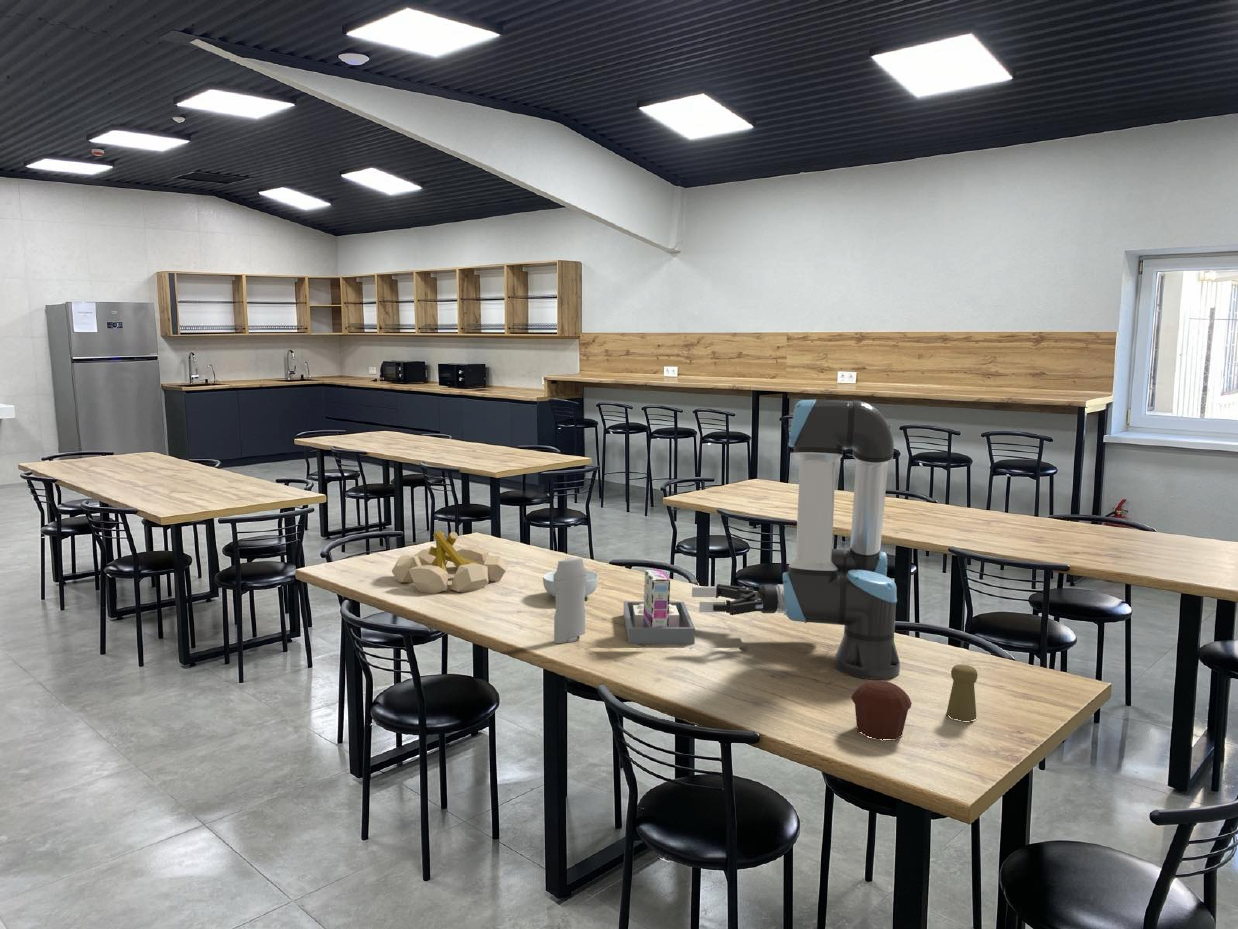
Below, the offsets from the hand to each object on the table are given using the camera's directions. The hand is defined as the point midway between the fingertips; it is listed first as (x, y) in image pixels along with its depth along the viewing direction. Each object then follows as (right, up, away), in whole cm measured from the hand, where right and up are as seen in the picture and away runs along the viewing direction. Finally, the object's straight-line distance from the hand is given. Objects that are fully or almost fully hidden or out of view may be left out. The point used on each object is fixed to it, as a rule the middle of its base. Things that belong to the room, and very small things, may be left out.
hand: (695, 599), depth 232 cm
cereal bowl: (-35, -6, +38) cm, 52 cm away
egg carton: (-10, -8, +12) cm, 18 cm away
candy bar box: (-10, -10, +2) cm, 14 cm away
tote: (-10, -10, +7) cm, 16 cm away
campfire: (-75, -3, +57) cm, 94 cm away
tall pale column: (-33, -11, 0) cm, 35 cm away
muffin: (+33, -19, -53) cm, 65 cm away
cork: (+52, -18, -45) cm, 71 cm away
